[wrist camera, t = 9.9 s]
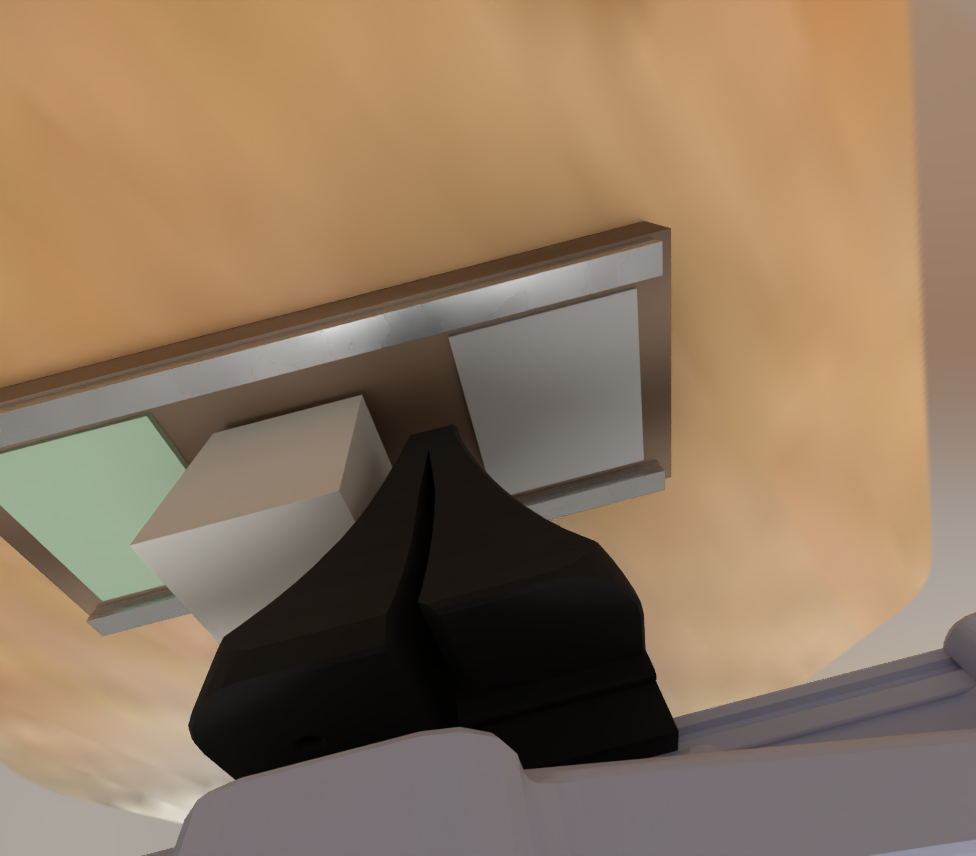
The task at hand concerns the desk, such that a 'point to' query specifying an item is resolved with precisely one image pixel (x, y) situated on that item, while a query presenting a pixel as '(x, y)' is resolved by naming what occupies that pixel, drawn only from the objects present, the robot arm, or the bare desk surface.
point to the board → (386, 391)
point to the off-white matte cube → (263, 509)
